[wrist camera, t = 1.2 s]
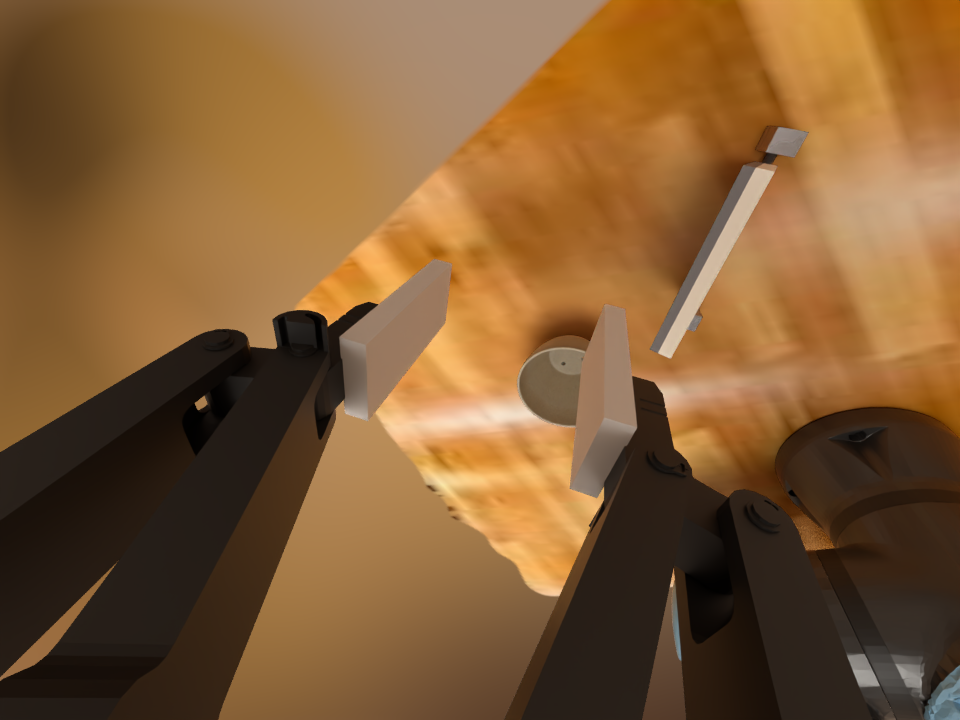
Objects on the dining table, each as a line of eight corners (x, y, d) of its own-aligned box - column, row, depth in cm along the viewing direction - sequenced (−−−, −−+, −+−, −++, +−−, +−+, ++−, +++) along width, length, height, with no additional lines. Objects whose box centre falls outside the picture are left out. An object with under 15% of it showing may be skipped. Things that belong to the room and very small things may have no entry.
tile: (755, 161, 28) (777, 165, 28) (681, 301, 35) (698, 307, 35) (743, 165, 20) (774, 171, 19) (649, 349, 27) (670, 358, 26)
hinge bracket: (794, 131, 28) (809, 132, 26) (689, 320, 38) (694, 331, 36) (767, 126, 28) (778, 126, 27) (669, 315, 38) (673, 325, 36)
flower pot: (587, 299, 40) (584, 330, 34) (632, 369, 42) (636, 409, 37) (512, 340, 45) (498, 372, 39) (556, 399, 48) (550, 438, 42)
